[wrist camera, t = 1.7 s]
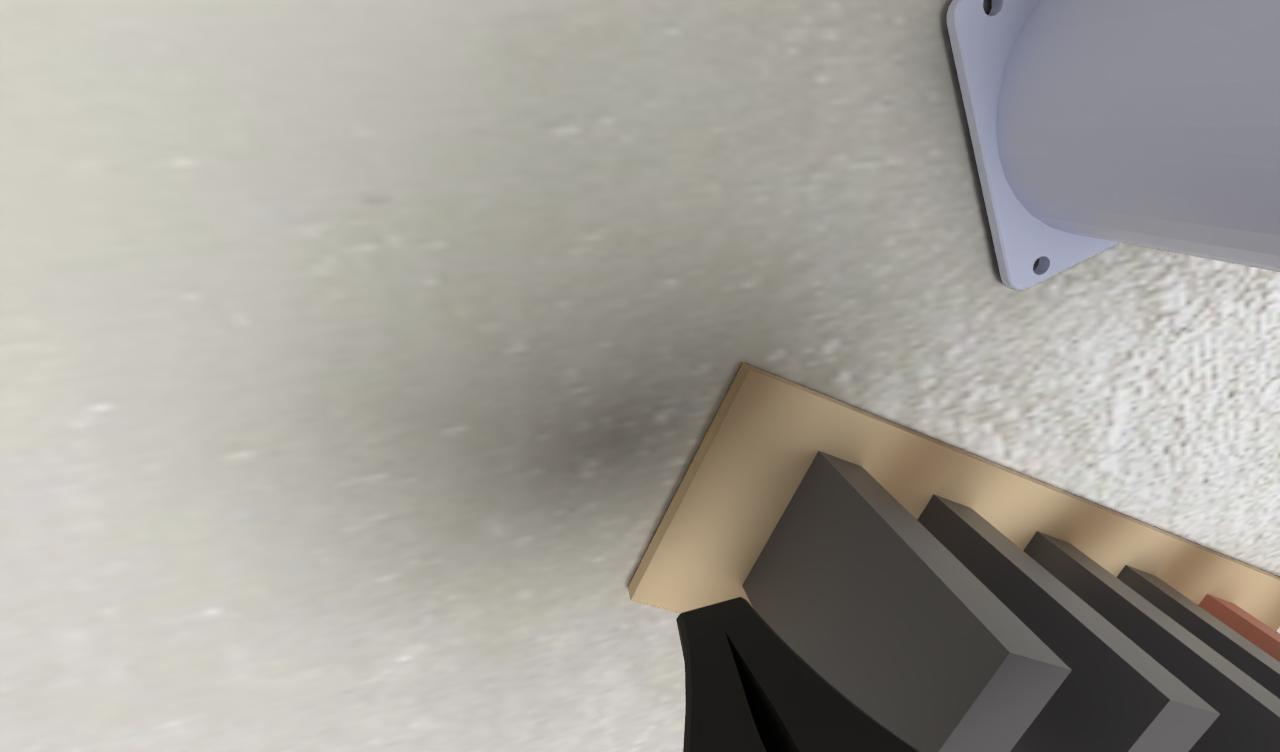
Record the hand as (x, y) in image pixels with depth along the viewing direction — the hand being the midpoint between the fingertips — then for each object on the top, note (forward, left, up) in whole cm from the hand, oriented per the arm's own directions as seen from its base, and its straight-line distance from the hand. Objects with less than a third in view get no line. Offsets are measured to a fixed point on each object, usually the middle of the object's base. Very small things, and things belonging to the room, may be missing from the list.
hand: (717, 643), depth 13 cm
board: (-9, +10, -7) cm, 16 cm away
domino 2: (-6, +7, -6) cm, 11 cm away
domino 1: (-3, +4, -6) cm, 8 cm away
